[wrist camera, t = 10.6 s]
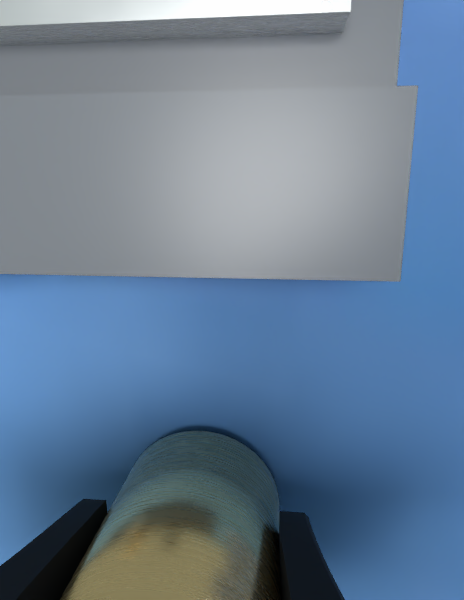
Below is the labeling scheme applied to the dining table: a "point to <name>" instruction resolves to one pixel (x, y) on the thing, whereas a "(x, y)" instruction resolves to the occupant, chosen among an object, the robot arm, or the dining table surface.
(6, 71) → the scale
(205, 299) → the dining table surface
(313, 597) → the robot arm
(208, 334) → the dining table surface
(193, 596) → the cylinder
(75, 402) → the dining table surface
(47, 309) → the dining table surface
